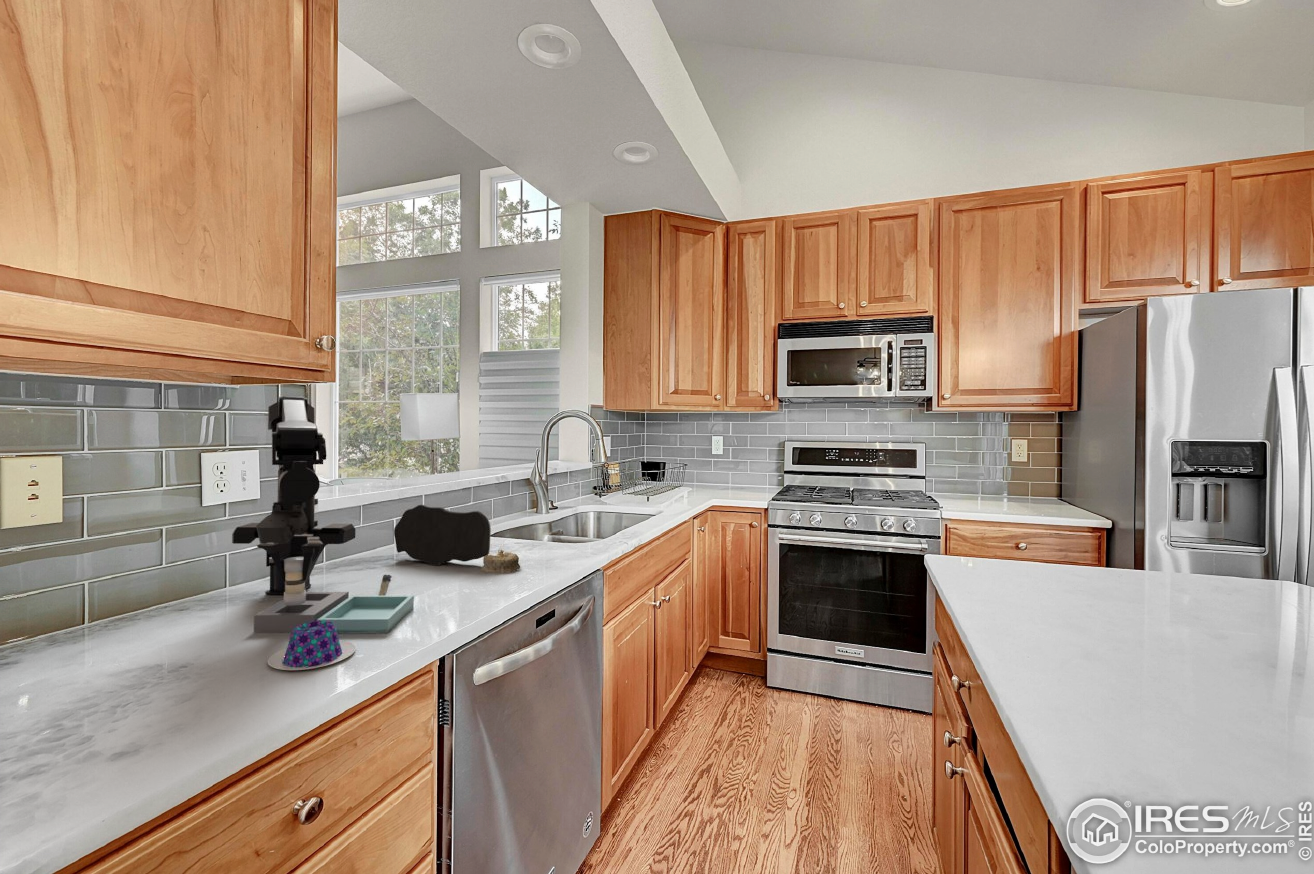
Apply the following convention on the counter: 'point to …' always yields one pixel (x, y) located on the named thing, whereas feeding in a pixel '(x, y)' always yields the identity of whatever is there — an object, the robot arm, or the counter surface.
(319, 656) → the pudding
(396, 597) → the parts tray
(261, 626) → the block
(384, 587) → the tomahawk
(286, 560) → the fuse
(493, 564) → the cake
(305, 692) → the counter surface
